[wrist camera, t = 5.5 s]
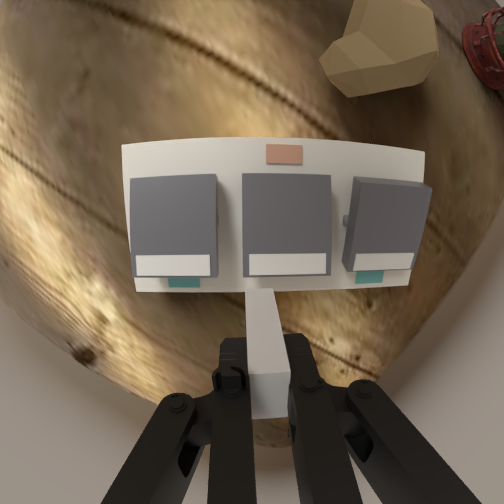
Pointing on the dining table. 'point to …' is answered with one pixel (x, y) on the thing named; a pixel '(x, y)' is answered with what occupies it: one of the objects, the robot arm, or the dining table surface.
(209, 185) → the rocker
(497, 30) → the lantern
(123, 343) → the dining table surface
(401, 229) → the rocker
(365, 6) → the low-poly potato
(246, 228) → the rocker middle
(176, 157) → the console
